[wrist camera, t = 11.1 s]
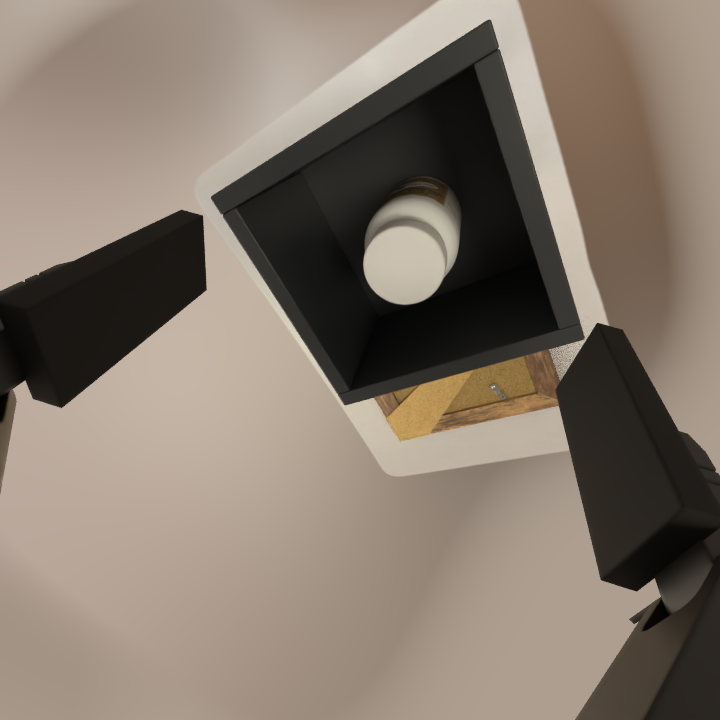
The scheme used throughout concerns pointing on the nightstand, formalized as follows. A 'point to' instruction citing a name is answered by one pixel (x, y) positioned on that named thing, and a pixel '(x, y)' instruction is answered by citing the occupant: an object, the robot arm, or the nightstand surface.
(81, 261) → the robot arm
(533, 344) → the legged open box
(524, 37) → the nightstand surface
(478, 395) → the picture frame
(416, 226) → the pill bottle
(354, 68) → the nightstand surface
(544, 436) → the nightstand surface
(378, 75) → the nightstand surface
